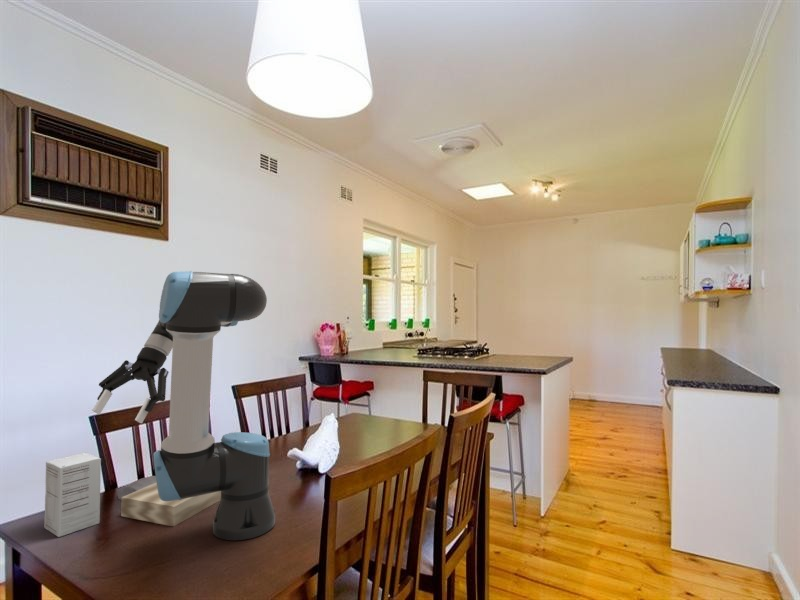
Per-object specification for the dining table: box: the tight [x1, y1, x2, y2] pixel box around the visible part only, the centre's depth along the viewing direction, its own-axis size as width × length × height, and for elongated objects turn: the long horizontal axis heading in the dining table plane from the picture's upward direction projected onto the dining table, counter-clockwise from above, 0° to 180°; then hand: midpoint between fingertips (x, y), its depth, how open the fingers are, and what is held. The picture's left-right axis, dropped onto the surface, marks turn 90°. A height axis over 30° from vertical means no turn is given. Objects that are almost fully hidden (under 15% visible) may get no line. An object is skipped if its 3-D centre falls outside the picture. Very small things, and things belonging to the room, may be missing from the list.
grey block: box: [117, 475, 156, 500], centre depth 135 cm, size 12×5×10 cm
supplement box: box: [43, 452, 102, 538], centre depth 114 cm, size 10×9×17 cm
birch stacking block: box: [120, 482, 221, 527], centre depth 125 cm, size 18×18×5 cm
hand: (116, 417), depth 126 cm, fingers open, 13 cm apart
